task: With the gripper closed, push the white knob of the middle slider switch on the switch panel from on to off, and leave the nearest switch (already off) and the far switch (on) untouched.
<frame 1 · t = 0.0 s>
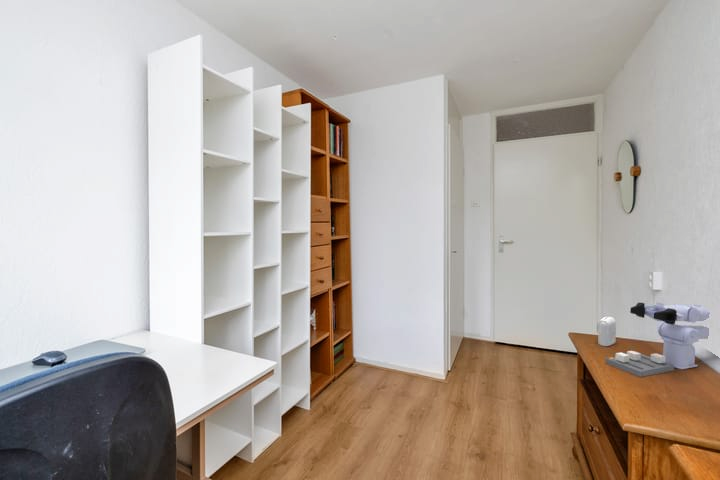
hand: (642, 312, 119), 22 cm above the table, tool horizontal, fingers open, 7 cm apart
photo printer: (606, 344, 147), on the table
switch near: (658, 358, 122), point 4 cm above the table, slide at 4.5 cm
switch panel: (639, 366, 123), on the table
switch middle: (633, 355, 125), point 4 cm above the table, slide at 0.0 cm
switch far: (622, 357, 123), point 4 cm above the table, slide at 0.0 cm
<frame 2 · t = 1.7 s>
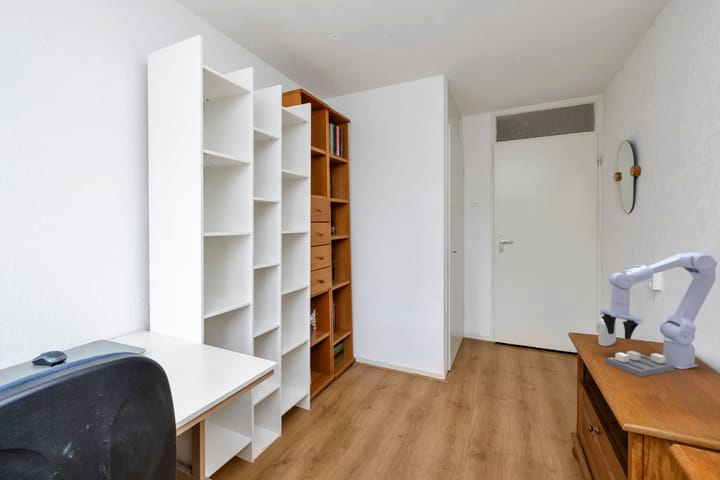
hand: (619, 336, 130), 9 cm above the table, tool pointing down, fingers open, 6 cm apart
nothing on the table moved.
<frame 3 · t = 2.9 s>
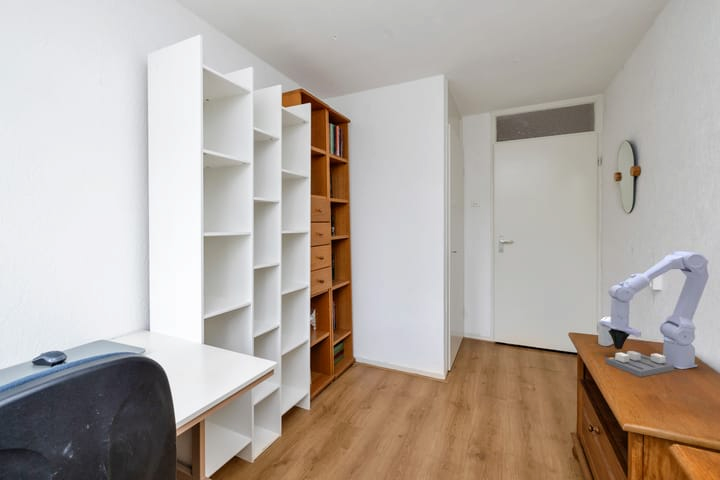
hand: (618, 348, 130), 4 cm above the table, tool pointing down, fingers closed
nothing on the table moved.
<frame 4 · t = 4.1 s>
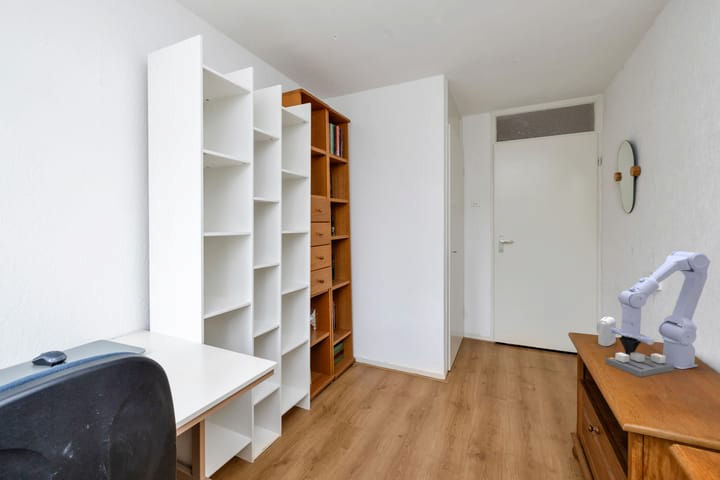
hand: (629, 356, 126), 3 cm above the table, tool pointing down, fingers closed
switch middle: (637, 356, 123), point 4 cm above the table, slide at 1.3 cm, touching gripper
everything else where it was.
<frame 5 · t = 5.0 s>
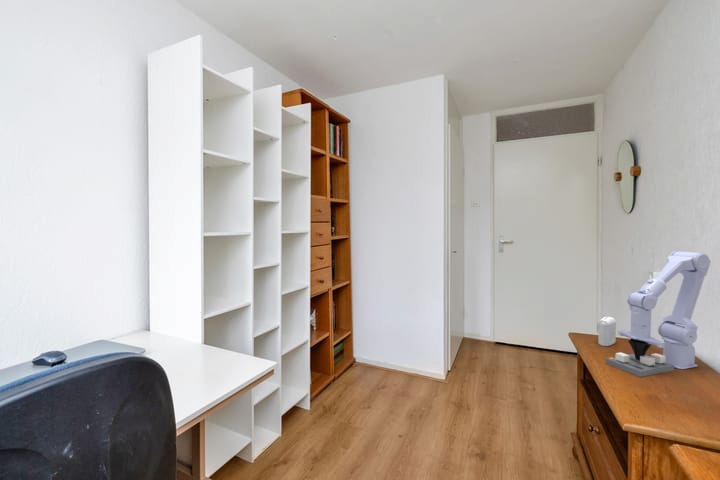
hand: (639, 359, 123), 3 cm above the table, tool pointing down, fingers closed
switch middle: (647, 360, 120), point 4 cm above the table, slide at 4.7 cm, touching gripper
everything else where it was.
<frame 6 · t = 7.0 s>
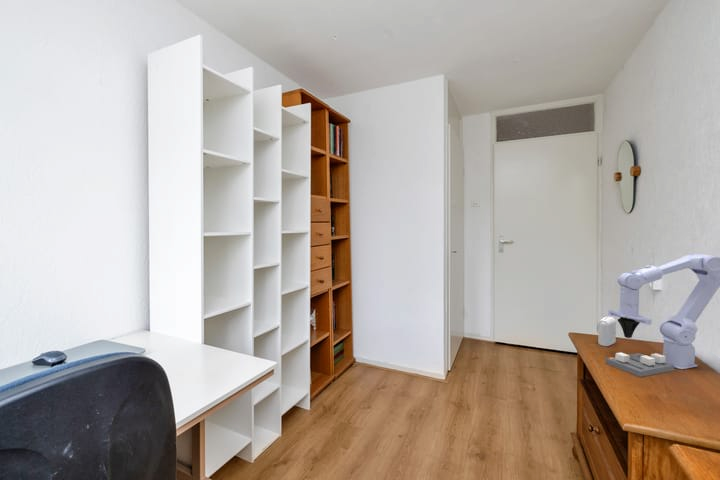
hand: (628, 337, 128), 9 cm above the table, tool pointing down, fingers closed
switch middle: (647, 360, 120), point 4 cm above the table, slide at 4.7 cm
everything else where it was.
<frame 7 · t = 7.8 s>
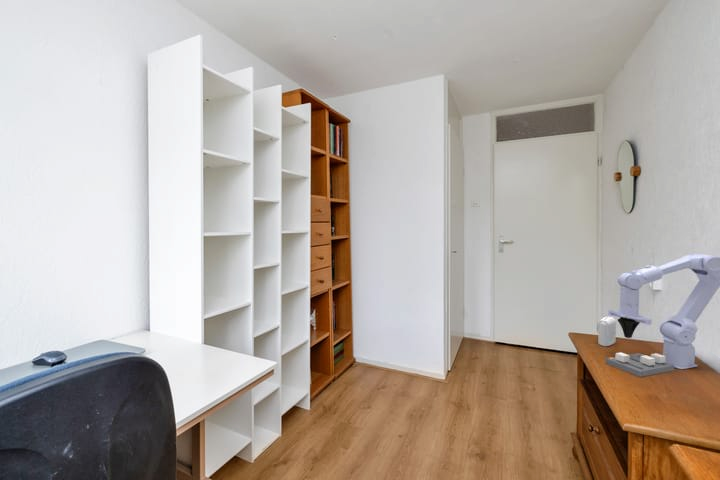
hand: (628, 337, 128), 9 cm above the table, tool pointing down, fingers closed
nothing on the table moved.
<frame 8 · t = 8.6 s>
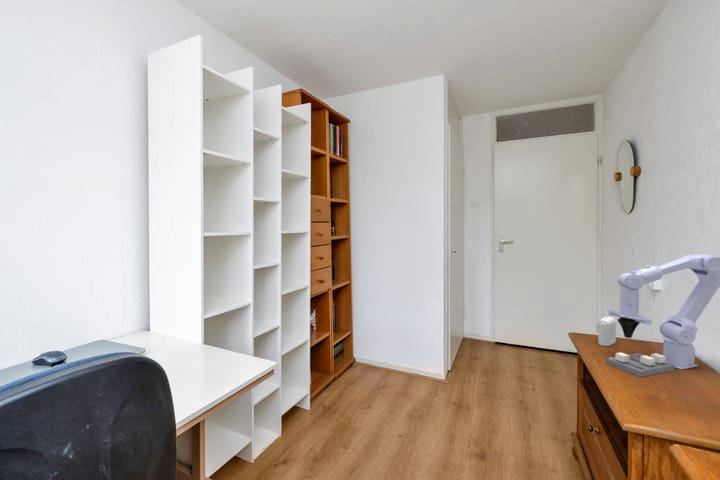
hand: (628, 337, 128), 9 cm above the table, tool pointing down, fingers closed
nothing on the table moved.
at the end: switch middle slide at 4.7 cm; switch near slide at 4.5 cm; switch far slide at 0.0 cm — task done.
